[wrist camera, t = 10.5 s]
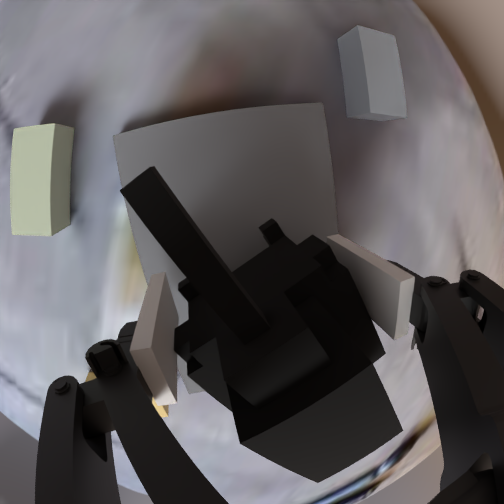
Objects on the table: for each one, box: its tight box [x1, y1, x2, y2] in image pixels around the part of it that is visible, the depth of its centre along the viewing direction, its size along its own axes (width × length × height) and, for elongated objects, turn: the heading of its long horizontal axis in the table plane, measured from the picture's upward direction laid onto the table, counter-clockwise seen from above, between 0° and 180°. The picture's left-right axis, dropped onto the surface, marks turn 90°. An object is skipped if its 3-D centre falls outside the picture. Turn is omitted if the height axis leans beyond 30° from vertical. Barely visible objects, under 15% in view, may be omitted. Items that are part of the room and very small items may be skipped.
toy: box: [120, 166, 403, 483], centre depth 11 cm, size 8×14×10 cm, turn 33°
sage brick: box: [10, 123, 75, 236], centre depth 13 cm, size 6×3×3 cm, turn 173°
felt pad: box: [113, 103, 338, 394], centre depth 17 cm, size 18×12×1 cm, turn 9°
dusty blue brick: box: [337, 25, 407, 121], centre depth 15 cm, size 6×3×3 cm, turn 4°
